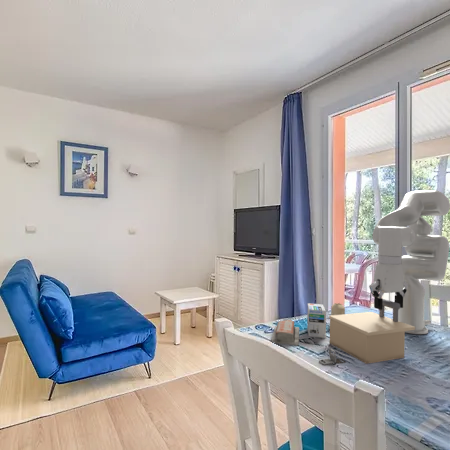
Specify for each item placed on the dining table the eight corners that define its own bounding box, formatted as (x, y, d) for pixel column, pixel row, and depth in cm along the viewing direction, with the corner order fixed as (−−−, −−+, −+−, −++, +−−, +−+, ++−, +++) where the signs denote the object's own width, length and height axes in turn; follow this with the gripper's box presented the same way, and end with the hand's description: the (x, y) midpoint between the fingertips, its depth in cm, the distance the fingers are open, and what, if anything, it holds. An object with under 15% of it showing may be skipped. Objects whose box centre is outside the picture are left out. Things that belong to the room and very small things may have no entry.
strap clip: (323, 366, 98) (324, 353, 98) (318, 362, 101) (318, 349, 101) (346, 363, 101) (347, 350, 101) (340, 359, 104) (340, 346, 104)
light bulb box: (326, 338, 122) (326, 310, 122) (308, 336, 124) (308, 309, 124) (323, 329, 133) (323, 304, 133) (306, 328, 134) (307, 302, 134)
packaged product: (299, 333, 114) (271, 331, 116) (298, 347, 114) (270, 344, 116) (299, 319, 131) (275, 317, 134) (299, 331, 131) (275, 328, 134)
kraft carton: (363, 338, 122) (364, 315, 122) (404, 357, 106) (404, 330, 106) (329, 343, 117) (330, 319, 117) (366, 363, 100) (367, 335, 100)
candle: (338, 329, 133) (338, 305, 133) (328, 325, 138) (328, 302, 138) (347, 327, 135) (347, 304, 135) (337, 324, 140) (337, 301, 140)
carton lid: (371, 314, 124) (371, 294, 124) (415, 329, 106) (415, 307, 106) (329, 318, 118) (329, 297, 118) (368, 335, 100) (368, 311, 100)
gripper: (398, 259, 121) (397, 304, 121) (363, 259, 115) (361, 306, 115) (416, 261, 114) (415, 309, 114) (379, 262, 108) (378, 312, 108)
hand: (388, 307), depth 115 cm, fingers open, 9 cm apart
